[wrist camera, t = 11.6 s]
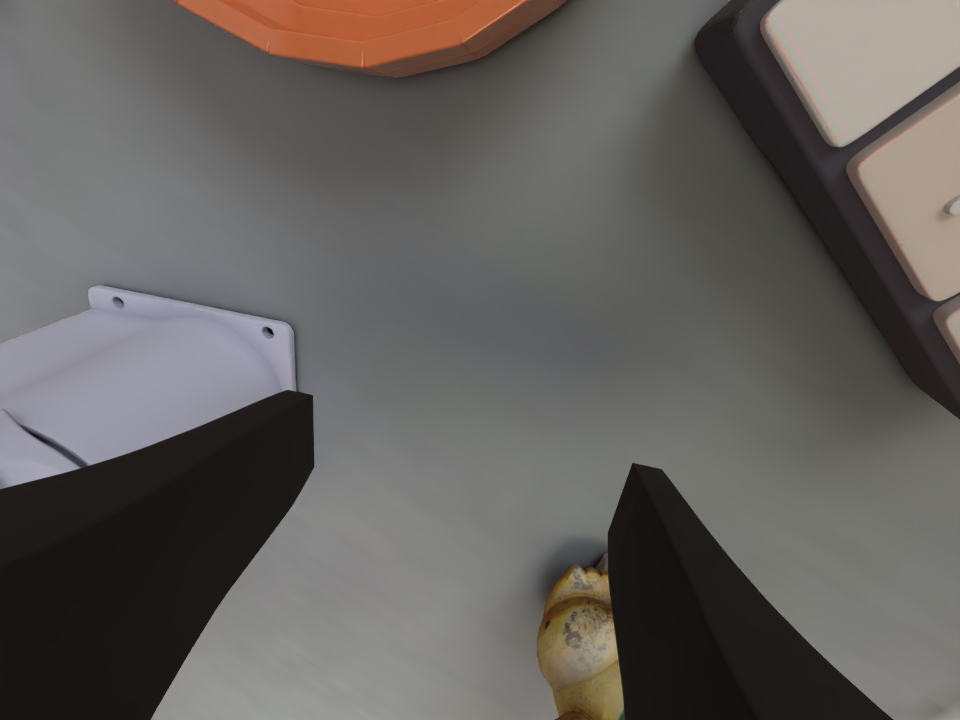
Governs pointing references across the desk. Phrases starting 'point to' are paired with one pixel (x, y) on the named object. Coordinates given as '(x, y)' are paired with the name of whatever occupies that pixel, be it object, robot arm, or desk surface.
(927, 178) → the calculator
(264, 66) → the desk surface
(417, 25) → the bowl
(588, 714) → the decorative figurine
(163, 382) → the robot arm
